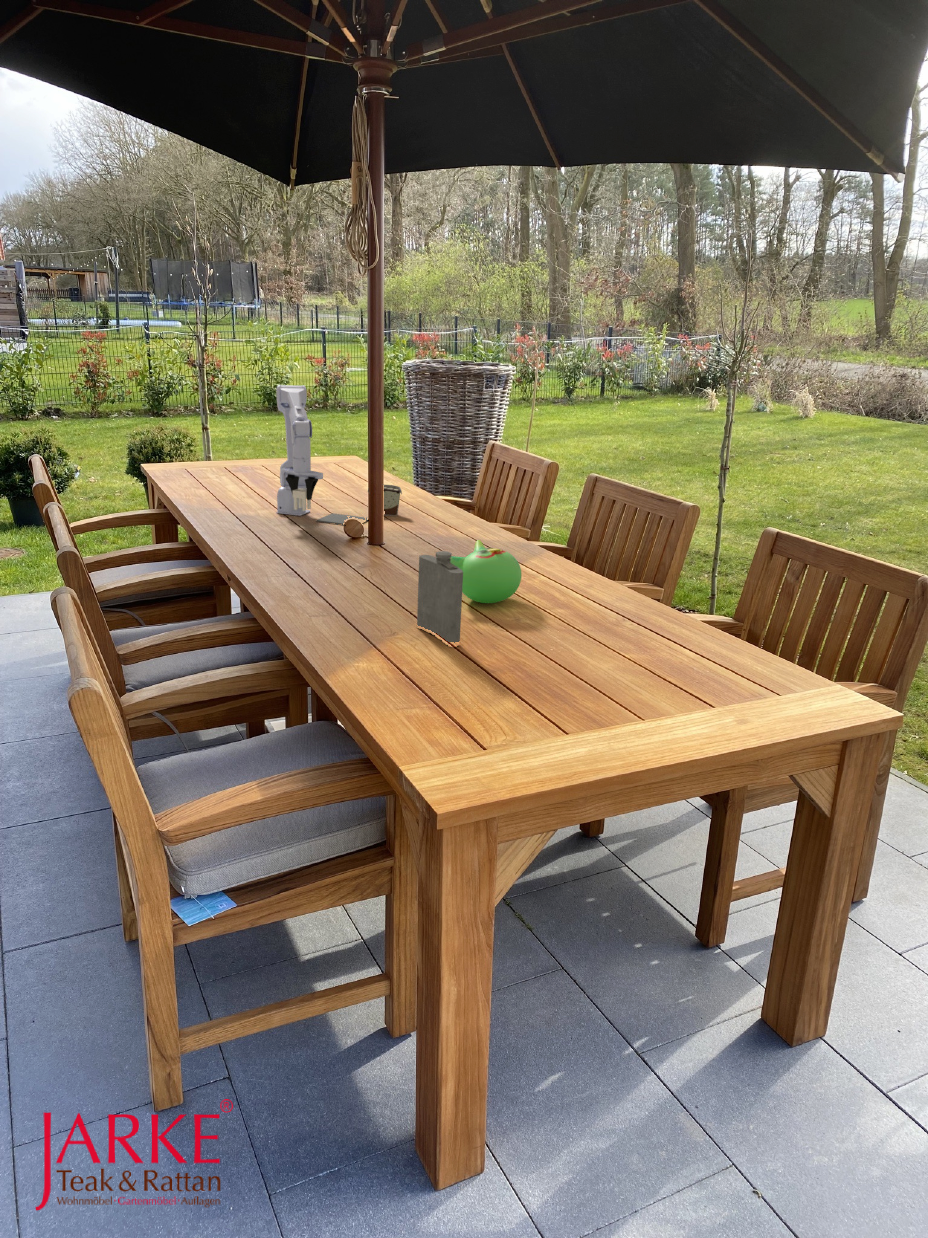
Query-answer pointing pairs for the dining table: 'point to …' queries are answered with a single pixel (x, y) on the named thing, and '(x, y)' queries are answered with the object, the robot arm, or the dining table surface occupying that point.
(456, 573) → the hip flask
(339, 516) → the mat
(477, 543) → the toy bird
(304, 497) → the cream block with pegs
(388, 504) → the food container
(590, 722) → the dining table surface
